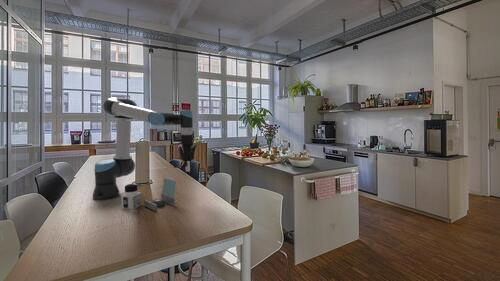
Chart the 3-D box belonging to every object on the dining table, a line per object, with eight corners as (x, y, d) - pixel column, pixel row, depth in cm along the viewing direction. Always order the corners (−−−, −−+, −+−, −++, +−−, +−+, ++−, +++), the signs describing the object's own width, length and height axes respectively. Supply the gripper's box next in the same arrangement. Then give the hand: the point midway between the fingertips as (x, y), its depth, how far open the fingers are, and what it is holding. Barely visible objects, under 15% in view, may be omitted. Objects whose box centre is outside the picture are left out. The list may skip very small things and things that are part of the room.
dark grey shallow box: (144, 205, 142) (143, 197, 142) (162, 200, 151) (162, 193, 150) (155, 211, 133) (155, 203, 132) (175, 205, 141) (174, 198, 141)
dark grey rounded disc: (149, 205, 142) (149, 200, 142) (160, 202, 147) (160, 197, 147) (154, 208, 137) (154, 203, 137) (166, 205, 142) (166, 200, 142)
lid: (164, 177, 150) (166, 177, 151) (161, 195, 149) (163, 195, 150) (175, 180, 141) (177, 180, 142) (172, 199, 141) (174, 199, 142)
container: (133, 209, 135) (132, 186, 134) (121, 208, 137) (120, 186, 136) (142, 205, 143) (141, 183, 142) (130, 204, 144) (129, 182, 143)
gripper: (181, 135, 145) (182, 173, 147) (198, 134, 155) (199, 170, 157) (174, 134, 150) (175, 172, 152) (192, 133, 160) (192, 169, 162)
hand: (187, 171), depth 155 cm, fingers closed
